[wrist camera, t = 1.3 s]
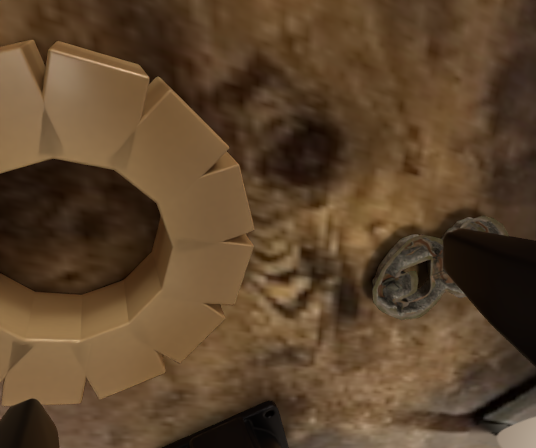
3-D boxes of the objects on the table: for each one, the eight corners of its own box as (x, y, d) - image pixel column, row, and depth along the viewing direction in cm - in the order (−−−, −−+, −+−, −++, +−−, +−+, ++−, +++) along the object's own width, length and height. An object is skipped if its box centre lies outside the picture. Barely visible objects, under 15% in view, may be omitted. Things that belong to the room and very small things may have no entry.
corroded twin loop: (490, 272, 25) (505, 282, 24) (366, 324, 23) (377, 336, 22) (498, 193, 22) (515, 201, 21) (359, 244, 20) (371, 255, 19)
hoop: (255, 289, 20) (278, 327, 17) (-19, 394, 17) (-37, 456, 15) (183, 4, 14) (201, 4, 11) (-248, 102, 11) (-337, 128, 9)
